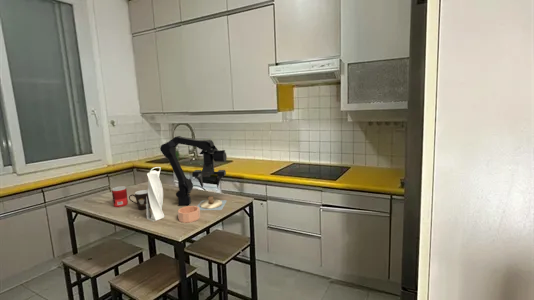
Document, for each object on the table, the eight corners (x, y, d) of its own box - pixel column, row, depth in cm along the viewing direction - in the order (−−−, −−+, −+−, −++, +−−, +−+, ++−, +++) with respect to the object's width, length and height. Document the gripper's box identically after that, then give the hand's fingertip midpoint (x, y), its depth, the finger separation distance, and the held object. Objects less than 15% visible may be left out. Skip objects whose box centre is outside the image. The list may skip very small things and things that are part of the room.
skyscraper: (160, 214, 164) (155, 165, 160) (168, 217, 159) (164, 167, 154) (146, 219, 158) (141, 168, 153) (154, 222, 153) (149, 170, 148)
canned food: (130, 203, 182) (128, 186, 180) (119, 208, 175) (117, 190, 173) (122, 202, 185) (120, 185, 184) (110, 206, 178) (108, 189, 176)
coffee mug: (155, 206, 176) (153, 190, 175) (144, 211, 168) (143, 194, 167) (139, 204, 180) (138, 189, 178) (129, 209, 172) (127, 193, 170)
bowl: (175, 222, 151) (174, 213, 150) (182, 214, 162) (182, 205, 161) (196, 222, 150) (195, 213, 150) (202, 214, 161) (201, 205, 160)
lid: (197, 209, 168) (196, 200, 168) (203, 201, 181) (202, 193, 180) (219, 208, 168) (219, 200, 167) (224, 201, 180) (223, 193, 179)
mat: (193, 210, 167) (193, 209, 167) (201, 201, 183) (201, 200, 183) (221, 210, 166) (221, 209, 166) (227, 201, 182) (227, 200, 182)
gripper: (188, 164, 163) (190, 191, 165) (221, 164, 161) (222, 191, 164) (194, 160, 174) (196, 186, 176) (225, 160, 172) (226, 185, 175)
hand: (210, 187), depth 173 cm, fingers open, 9 cm apart
